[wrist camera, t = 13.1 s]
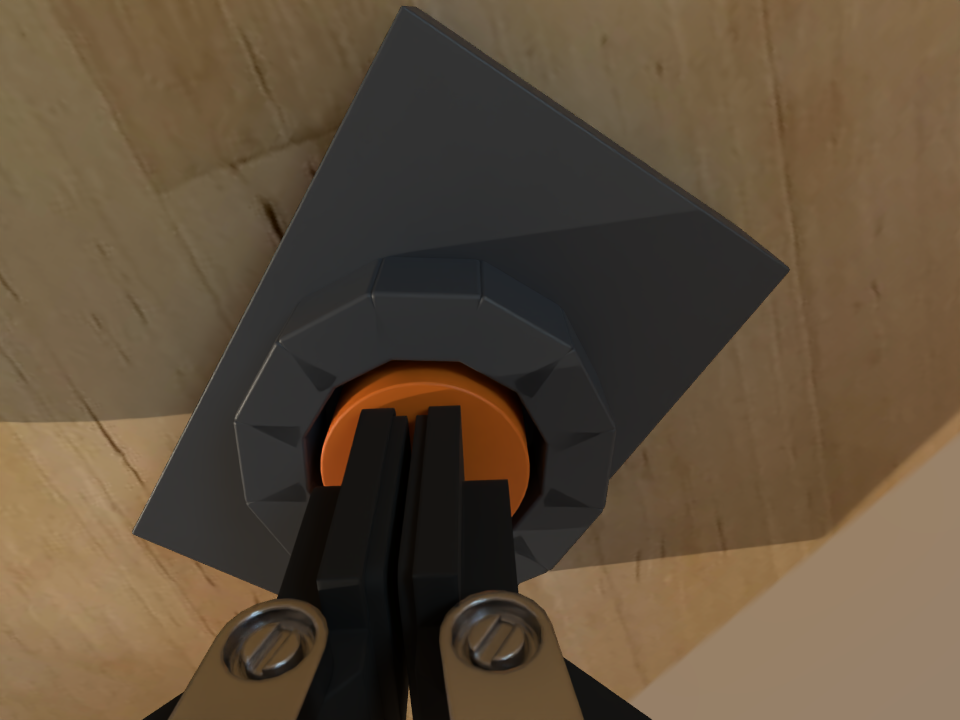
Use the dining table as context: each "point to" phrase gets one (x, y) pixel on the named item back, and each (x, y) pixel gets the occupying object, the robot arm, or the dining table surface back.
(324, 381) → the control block
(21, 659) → the dining table surface
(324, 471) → the button
